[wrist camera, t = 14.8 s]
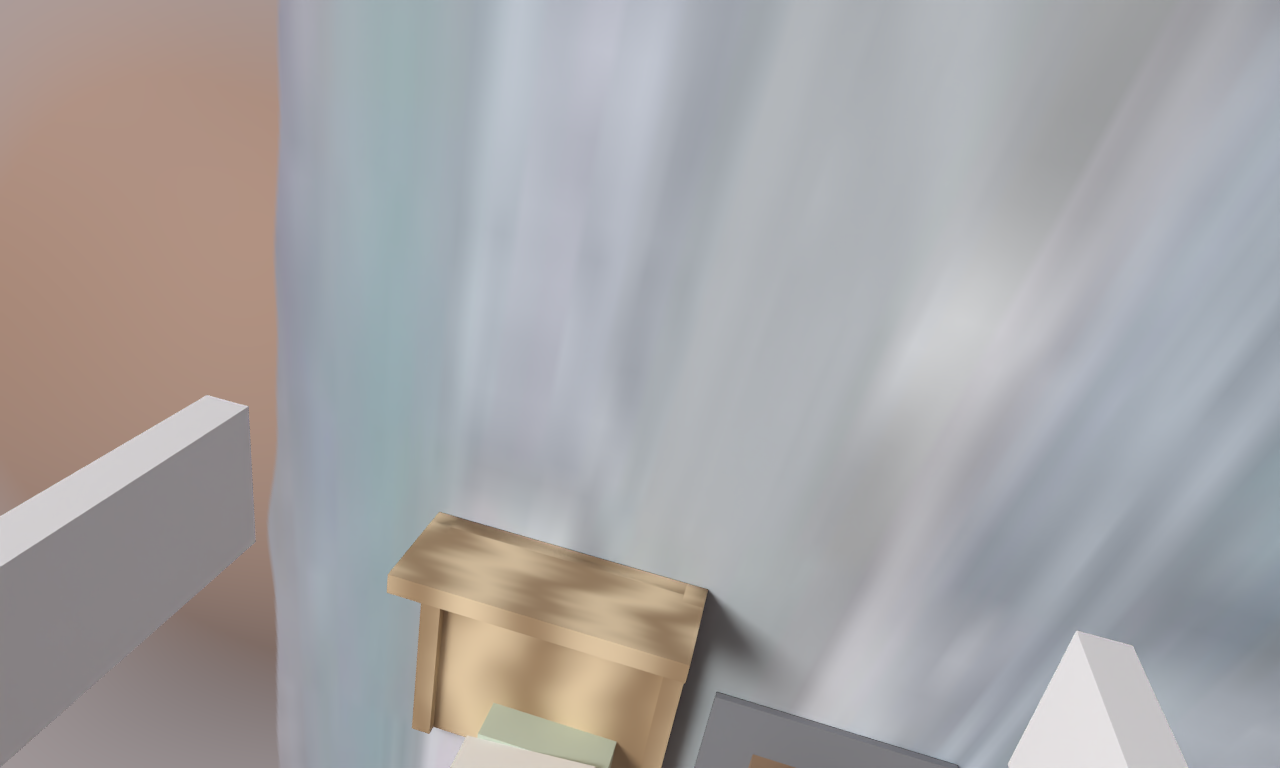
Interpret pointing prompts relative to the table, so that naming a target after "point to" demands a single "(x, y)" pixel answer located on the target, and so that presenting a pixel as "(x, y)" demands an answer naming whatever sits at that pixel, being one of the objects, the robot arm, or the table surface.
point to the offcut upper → (505, 757)
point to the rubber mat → (793, 741)
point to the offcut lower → (546, 737)
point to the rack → (546, 637)
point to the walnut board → (765, 763)
